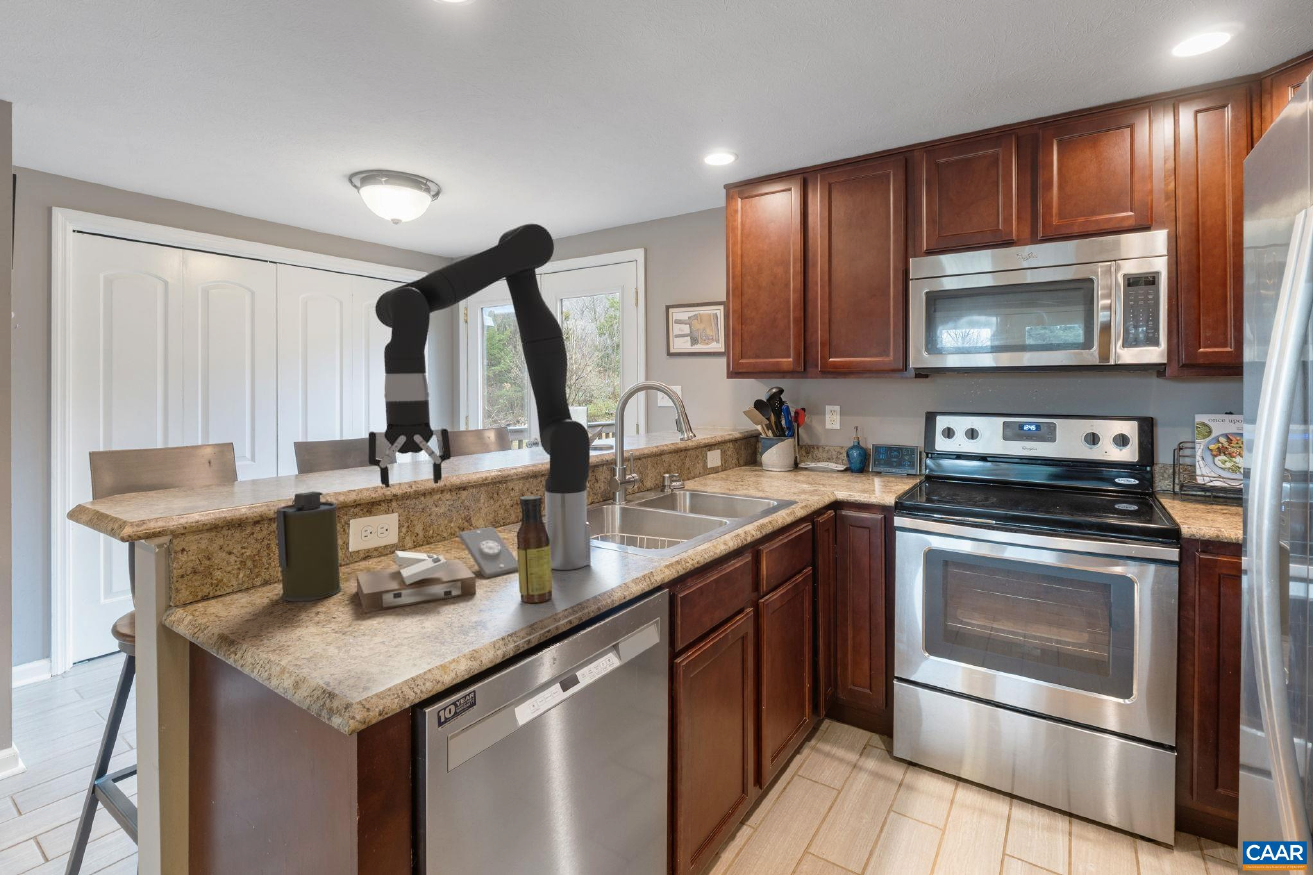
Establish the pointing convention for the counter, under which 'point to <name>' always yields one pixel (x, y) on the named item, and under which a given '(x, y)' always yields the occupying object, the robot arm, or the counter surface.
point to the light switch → (489, 551)
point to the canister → (308, 548)
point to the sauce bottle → (533, 553)
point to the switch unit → (413, 587)
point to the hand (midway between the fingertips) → (411, 485)
